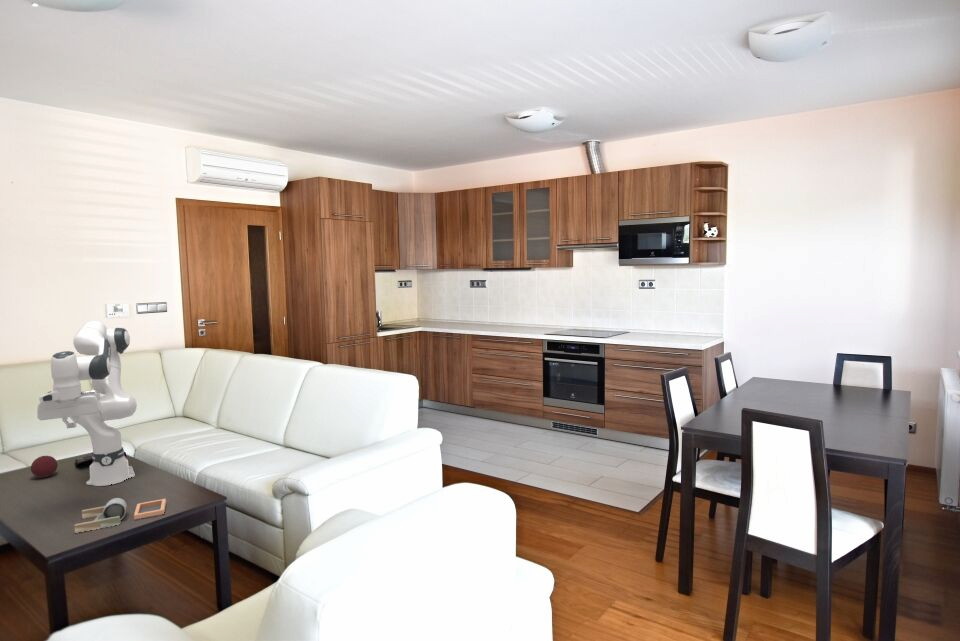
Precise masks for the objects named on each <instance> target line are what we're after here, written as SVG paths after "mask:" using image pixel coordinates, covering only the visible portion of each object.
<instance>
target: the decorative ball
mask: <svg viewBox="0 0 960 641" xmlns="http://www.w3.org/2000/svg"><path fill="white" fill-rule="evenodd" d="M57 469H58V461H57V459H56V458H55V457H53V456H52V455H42V456H39V457H37V458H36V459H34V460H33V461H32V463H31V465H30V471H31V473H32V474H33V475H34V476H35V477H37V478H40V479H41V478H42V479H43V478H48V477H50V476H52V475H53V474H55V472H56V471H57Z"/></svg>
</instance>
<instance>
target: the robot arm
mask: <svg viewBox="0 0 960 641" xmlns="http://www.w3.org/2000/svg"><path fill="white" fill-rule="evenodd" d="M130 337H131V336H130V334H129V331H128V330H127V329H126V328H125V327H115V328H113V327H111V328H107V326H106V325H105V324H104V323H103V322H102V321H98V320H89V321H88V322H85V323H84V324H83V325H82V326H81V327H80V328H79V329H78V330H77V332H76V333H75V335H74V338H73V340H72V341H73V347H74V349H75V350H76V352H78V353H79V354H80V355H84V356H77V355H76V353H75V352H73V351H70V350H68V351H66V350H65V351H60V352H56V353H54V354H52V355H51V360H50V361H51V362H50V372H51V379H52V380H53V385H52V390H50V391H48V392H45V393H43V394H42V395H40V396H39V397H38V399H39V402H40V403H38V405H37V413H36V414H37V416H36V417H37V419H38V420H39V421H47V420H55V419H61V420H62V422H63V423H64V425H65V426H66V428H67V429H74V428H77V425H79V426H81V427H82V428H84V429H85V430H86V432H87V434H88V435H89V437H90V441H91V446H92V454H91V457H92V463H91V464H90V465H89V479H88V480H87V481H86V483H85V484H86V485H88V486H94V487H104V486H105V487H106V486H110V485H111V484H112V485H115V484H119V483H122V482H124V480H125V481H126V479H127V480H128V478H129V479H132V478H134V477H136V474H135V471H134V468H133V466H132V465H129V460H128V459H127V457H126V456H125V449H124V447H123V445H122V444H123V443H122V434H121V431H119V430H118V429H117V428H115V427H113V426H109V425H107V424H106V423H105V421H112V420H113V421H114V420H122V419H126V418H128V417H132V416H133V415H134V414H135V413H136V410H137V406H138V405H137V401H136V399H135V398H134V396H132V395H130V394H128V393H126V391H124V390H123V388H122V386H121V385H122V384H121V376H122V375H121V374H122V363H121V357H120V355H122V354H124V352H125V351H126V350H127V348H128V347H129V345H130V344H131V343H130V342H131V341H130V340H131V338H130ZM119 354H120V355H119ZM90 380H91V388H92V389H93V390H90V391H89V390H85V391H82V383H81V381H90ZM101 395H104V396H101ZM68 418H70V419H71V420H72V421H73V422H69V420H68ZM131 477H132V478H131Z"/></svg>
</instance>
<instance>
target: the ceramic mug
mask: <svg viewBox="0 0 960 641" xmlns="http://www.w3.org/2000/svg"><path fill="white" fill-rule="evenodd" d="M104 506H105V508H104V510H103V512H102V514H100V515H99V516H96V517H95V518H94V520H93V521H95V520H100V519H105V518H110V517H116V516H120V521H121V520H123V519H124V518H125V516H126V514H127V513H126V512H127V508H128V505H127V502H126V501H125V500H124V499H123V498H120V497H114V498H111V499H110V500H108V502H107V503H106V504H105V505H104Z"/></svg>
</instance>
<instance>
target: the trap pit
mask: <svg viewBox="0 0 960 641" xmlns="http://www.w3.org/2000/svg"><path fill="white" fill-rule="evenodd" d="M166 499H167V498H161V499H157V500H151V501H145V502H140V503H137V504H136V507H135V511H134V513H133V514H134V515H133V519H134V520H135V521H138V520H137V519H140V520H142V519H141V518H145V519H147V518H146V517H150V518H153V517H152V516H155V517H158V516H157V515H160V516H163V515H162V514H164V515H165V513H164V512H166V506H167V500H166Z"/></svg>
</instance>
